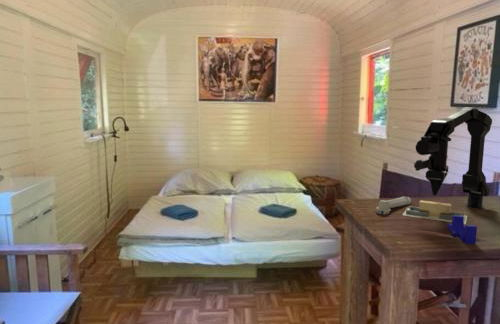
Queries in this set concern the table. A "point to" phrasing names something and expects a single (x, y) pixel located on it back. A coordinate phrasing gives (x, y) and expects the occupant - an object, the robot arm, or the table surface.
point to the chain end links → (416, 211)
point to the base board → (433, 217)
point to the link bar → (434, 208)
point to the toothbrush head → (392, 204)
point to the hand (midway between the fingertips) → (435, 192)
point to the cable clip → (462, 230)
